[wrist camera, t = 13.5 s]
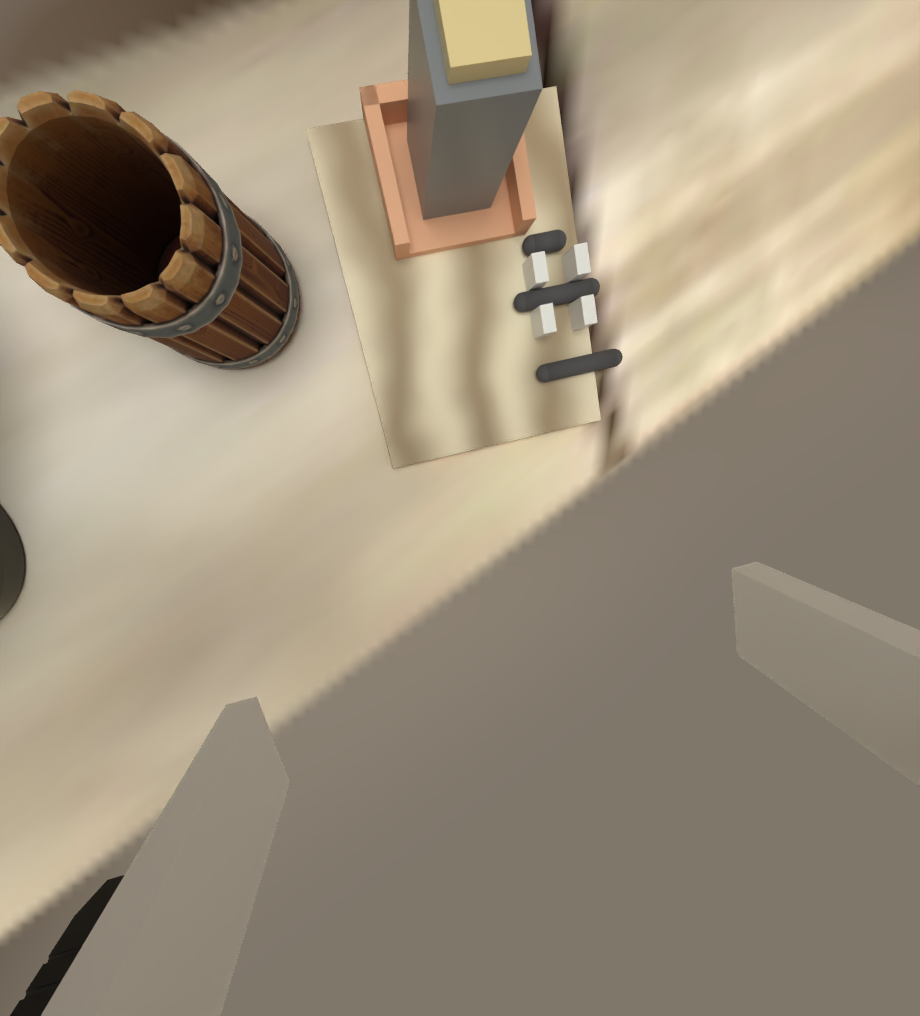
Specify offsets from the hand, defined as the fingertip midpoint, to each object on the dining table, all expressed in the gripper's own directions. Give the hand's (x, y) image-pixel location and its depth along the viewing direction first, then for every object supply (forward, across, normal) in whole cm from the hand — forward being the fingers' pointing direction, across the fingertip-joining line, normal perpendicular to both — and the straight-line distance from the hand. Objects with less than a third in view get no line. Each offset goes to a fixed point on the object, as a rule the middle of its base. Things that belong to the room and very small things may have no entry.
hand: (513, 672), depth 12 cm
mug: (+27, -14, +19) cm, 36 cm away
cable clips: (+26, +12, +13) cm, 31 cm away
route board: (+27, +6, +15) cm, 31 cm away
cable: (+25, +13, +12) cm, 31 cm away
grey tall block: (+25, +6, +22) cm, 34 cm away
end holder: (+26, +6, +22) cm, 35 cm away
